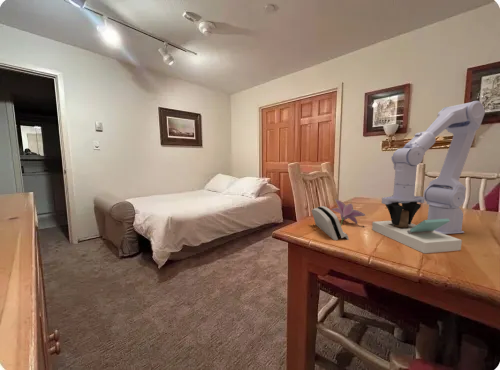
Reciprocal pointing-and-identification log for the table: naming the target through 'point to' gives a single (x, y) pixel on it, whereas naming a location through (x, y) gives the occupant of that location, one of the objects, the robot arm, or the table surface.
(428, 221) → the teal flap lid
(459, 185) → the robot arm
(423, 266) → the table surface
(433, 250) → the tray
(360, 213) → the lily
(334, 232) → the grey curved piece
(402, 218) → the peg
